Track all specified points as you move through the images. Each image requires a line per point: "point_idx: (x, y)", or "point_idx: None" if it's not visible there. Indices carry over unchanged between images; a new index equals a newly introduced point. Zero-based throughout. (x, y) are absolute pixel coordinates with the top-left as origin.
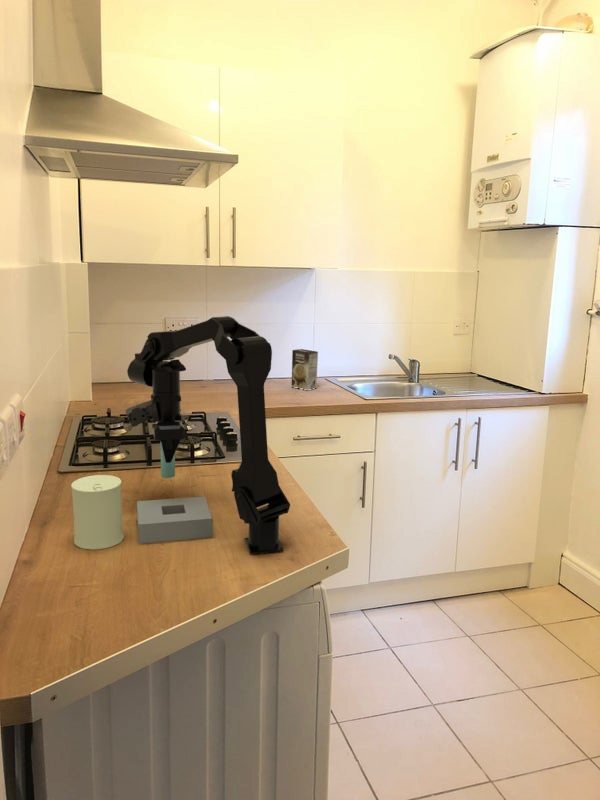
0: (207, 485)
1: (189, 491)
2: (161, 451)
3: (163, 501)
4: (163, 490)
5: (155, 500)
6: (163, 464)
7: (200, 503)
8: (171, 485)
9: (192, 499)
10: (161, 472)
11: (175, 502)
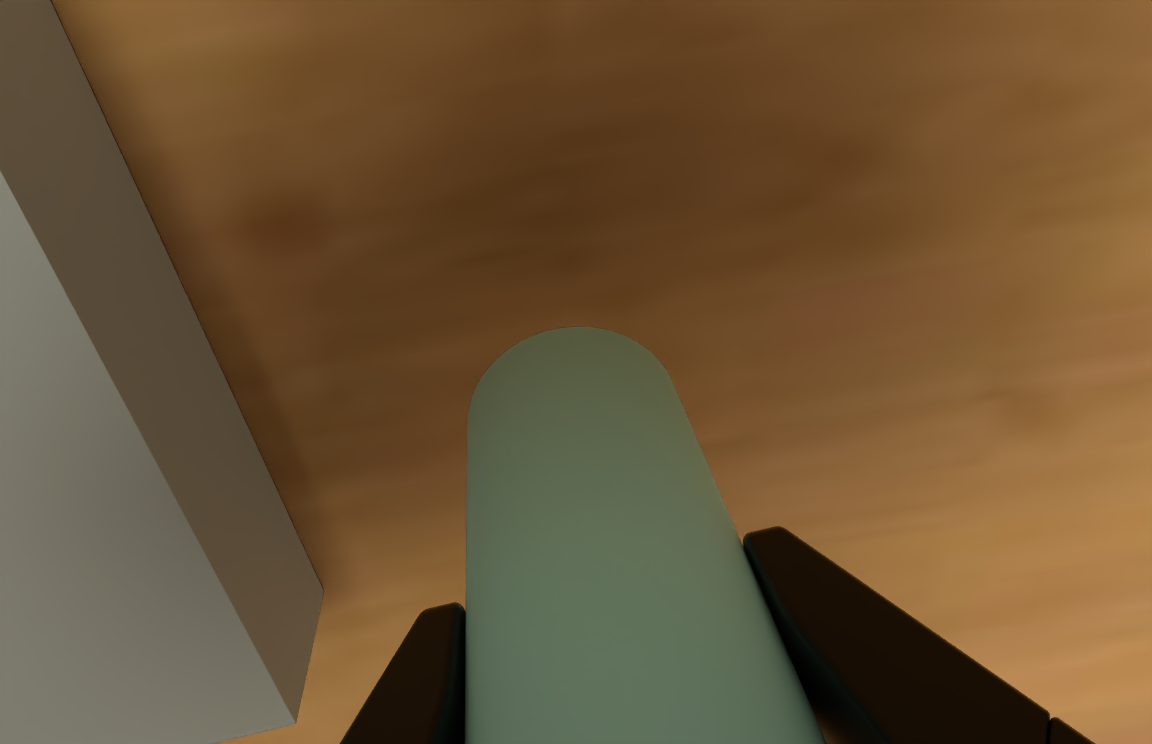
0: (1008, 514)
1: (882, 393)
2: (535, 690)
3: (30, 377)
4: (959, 130)
5: (33, 275)
6: (485, 513)
7: (83, 724)
8: (1095, 192)
9: (182, 644)
10: (521, 377)
11: (37, 510)
